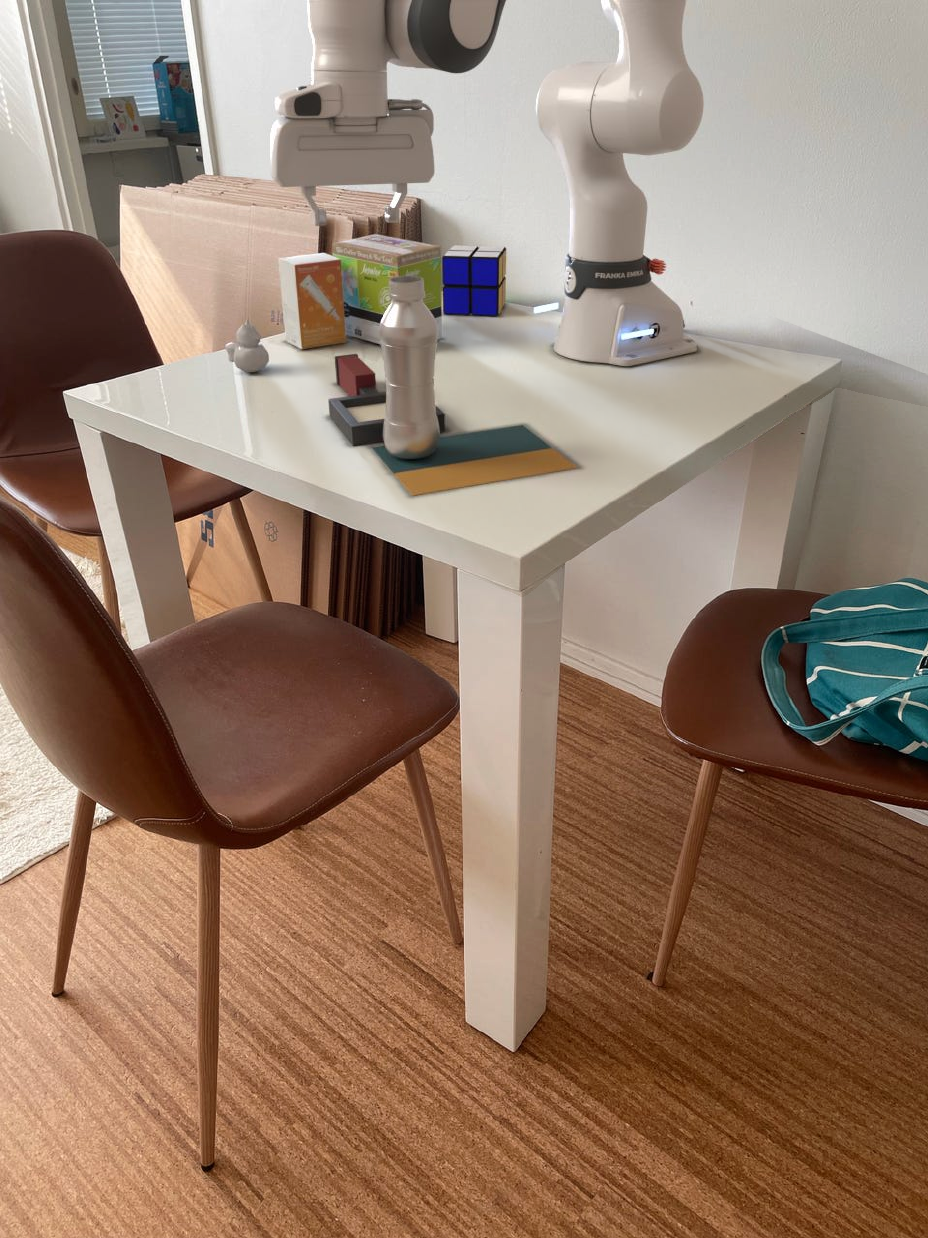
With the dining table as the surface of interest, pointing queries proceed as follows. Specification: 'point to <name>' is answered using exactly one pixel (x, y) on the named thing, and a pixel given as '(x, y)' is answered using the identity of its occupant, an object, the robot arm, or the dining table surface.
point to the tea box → (384, 279)
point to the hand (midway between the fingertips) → (356, 223)
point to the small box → (312, 300)
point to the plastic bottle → (409, 371)
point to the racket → (361, 402)
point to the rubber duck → (248, 349)
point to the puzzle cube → (474, 280)
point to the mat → (476, 460)
